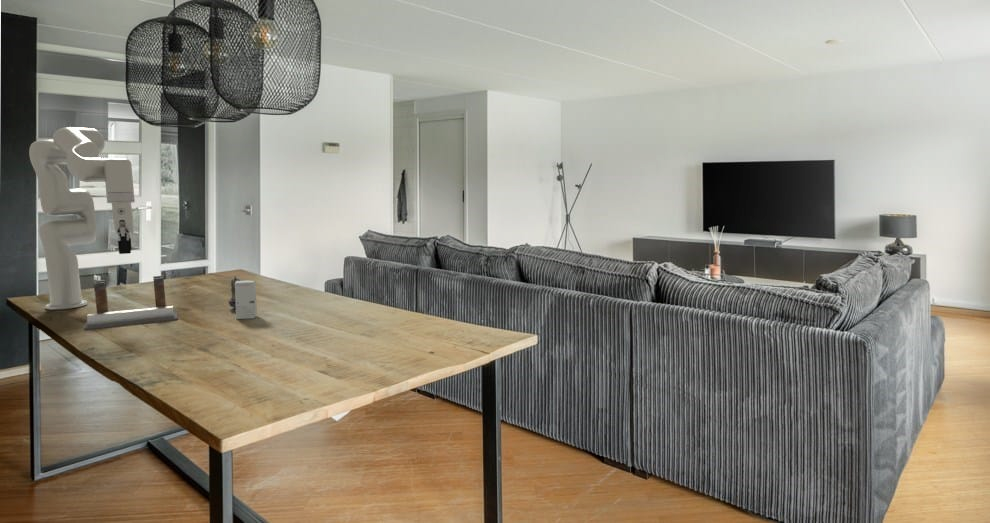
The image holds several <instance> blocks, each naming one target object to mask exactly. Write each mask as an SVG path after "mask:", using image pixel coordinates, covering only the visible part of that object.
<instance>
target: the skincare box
mask: <svg viewBox="0 0 990 523" xmlns="http://www.w3.org/2000/svg"><path fill="white" fill-rule="evenodd" d="M235 303H236V312H235V318H236V320H241V319H242V320H243V319H255V318H256V317H257V315H258V314H257V312H258V311H257V286H256V280H240V281H236V282H235Z"/></svg>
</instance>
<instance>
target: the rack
mask: <svg viewBox="0 0 990 523" xmlns="http://www.w3.org/2000/svg"><path fill="white" fill-rule="evenodd" d="M93 289H94V296H95V297H94V298H95V306H96V313H105V312H110V311H109V301H108V292H107V291H108V290H107V280H106V279H103V280H95V281H94V283H93ZM153 289H154V300H155V301H154V302H155V306H154V307H152V308H156V307H166V306H167V305H166V294H165V293H166V292H165V291H166V290H165V279H164V275H154V276H153ZM145 308H146V307H144V308H141V309H145ZM125 310H126V309H125ZM125 310H124V309H123V310H122V309H121V311H125ZM131 310H135V308H133V309H131ZM115 311H116V310H114V311H111V312H115Z"/></svg>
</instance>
